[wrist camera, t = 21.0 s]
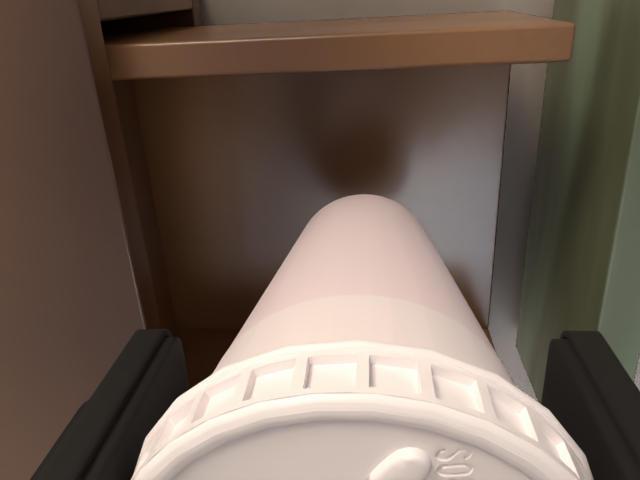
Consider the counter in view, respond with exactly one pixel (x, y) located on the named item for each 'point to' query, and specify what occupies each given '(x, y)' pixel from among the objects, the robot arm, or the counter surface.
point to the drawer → (386, 158)
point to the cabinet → (65, 215)
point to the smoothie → (360, 374)
